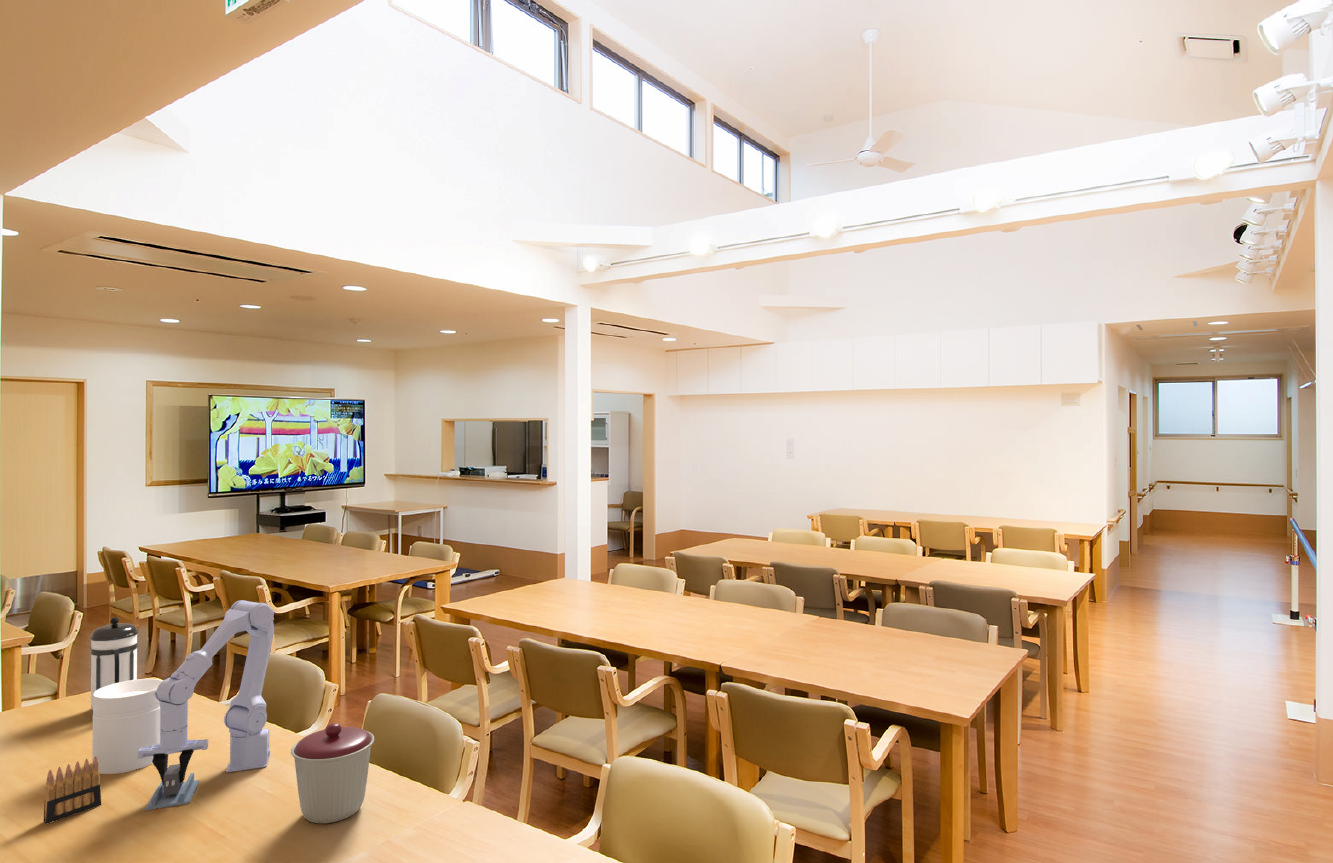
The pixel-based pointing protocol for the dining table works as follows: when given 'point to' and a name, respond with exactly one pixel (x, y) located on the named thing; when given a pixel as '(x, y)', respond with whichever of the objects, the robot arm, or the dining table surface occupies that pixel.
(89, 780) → the ammunition clip
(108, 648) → the coffee press
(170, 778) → the charcoal plug
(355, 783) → the canister
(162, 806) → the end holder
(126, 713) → the canister
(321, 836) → the dining table surface
